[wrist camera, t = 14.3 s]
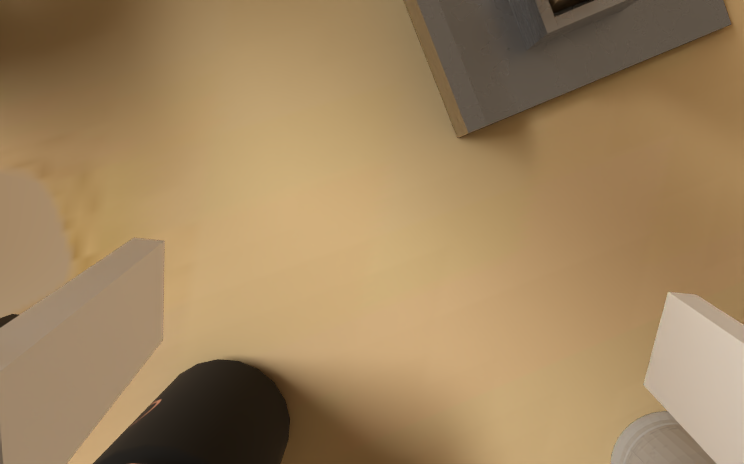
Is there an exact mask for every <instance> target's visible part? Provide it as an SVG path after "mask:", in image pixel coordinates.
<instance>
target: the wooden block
mask: <svg viewBox="0 0 744 464" xmlns="http://www.w3.org/2000/svg"><path fill="white" fill-rule="evenodd" d="M548 1H549V3H550V6H551V9H552V11H553V14H554V13H556V12H559V11H561V10H564V9H566V8H569V7H571V6H574V5H576V4H579V3H581V2H584V1H586V0H548Z"/></svg>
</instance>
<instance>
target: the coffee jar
mask: <svg viewBox="0 0 744 464" xmlns="http://www.w3.org/2000/svg"><path fill="white" fill-rule="evenodd" d="M289 424H290V418H289V414H288V410H287V406H286V402H285V399H284V398H283V396H282V394H281V393H280V391H279V390H278V388H277V387H276V385H275V383H274V382H273V381H272V380H270V379H269V378H268V377H267V376H266V375H264V374H263V373H262V372H261V371H260V370H258V369H256V368H254V367H252V366H249V365H247V364H244V363H242V362H239V361H230V360H218V359H217V360H213V361H209V362H204V363H200V364H197V365H195V366H193V367H191V368H190V369H188V370H186V371H185V372H183V373H181V374H180V375H179V376H178V377H177V378H176V379H175V380H174V381H173V382H172V383H171V384H170V385H169V386H168V387H167V388H166V389H165V390H164V391H163V392H162V393H161V394H160V395H159V396H158V397H157V398H156V399H155V400H154V401H153V403H152V404H151V405H150V406H149V407H148V408H147V409H146V410H145V411H144V412H143V413H142V414H141V415H140V416H139V417H138V418H137V419H136V420H135V421H134V422H133V423H132V424H131V425H130V426H129V427H128V428H127V429H126V430H125V431H124V432H123V433H122V434H121V435H120V436H119V437H118V438H117V439H116V441H115V442H114V443H113V444H112V445H111V446H110V447H109V448H108V449H107V450H106V451H105V452H104V453H103V454H102V455H101V456H100V457H99V458H98V459H97V460H96V461H95V462H94V463H93V464H280V463H281V460H282V457H283V454H284V451H285V448H286V445H287V442H288V437H289Z"/></svg>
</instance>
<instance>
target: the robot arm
mask: <svg viewBox="0 0 744 464" xmlns="http://www.w3.org/2000/svg"><path fill="white" fill-rule="evenodd" d="M163 308H164V241H161V240H151V239H142V238H133V239H131V240H130V241H128V242H127V243H125V244H124V245H122V246H121V247H119V248H118V249H116V250H115V251H113V252H112V253H110V254H109V255H108V256H106V257H105V258H103V259H102V260H100V261H99V262H97V263H96V264H94V265H93V266H91V267H90V268H88V269H87V270H85V271H84V272H82V273H81V274H79V275H78V276H76V277H75V278H73V279H72V280H71V281H69V282H68V283H66V284H65V285H63V286H62V287H60V288H59V289H57V290H56V291H54V292H53V293H51V294H50V295H48V296H47V297H45V298H44V299H42V300H41V301H39V302H38V303H36V304H35V305H33V306H32V307H31V308H29V309H28V310H26V311H25V312H23V313H22V314H20V315H17V314H11V315H8V316H5V317H3V318H0V464H67V463H68V461H69V460H70V459H71V458H72V456H73V455H74V454H75V452H76V451H77V450H78V449H79V447H80V446H81V445H82V443H83V442H84V441H85V440H86V438H87V437H88V436H89V434H90V433H91V432H92V431H93V429H94V428H95V427H96V425H97V424H98V423H99V422H100V420H101V419H102V418H103V416H104V415H105V414H106V413H107V411H108V410H109V409H110V408H111V406H112V405H113V404H114V402H115V401H116V400H117V399H118V397H119V396H120V395H121V393H122V392H123V391H124V390H125V388H126V387H127V386H128V384H129V383H130V382H131V381H132V379H133V378H134V377H135V375H136V374H137V373H138V372H139V370H140V369H141V368H142V366H143V365H144V364H145V363H146V361H147V360H148V359H149V357H150V356H151V355H152V354H153V352H154V351H155V350H156V348H157V347H158V346H159V345H160V343H161V342H162V341H163ZM643 385H644V386H645V387H646V388H647V389H648V390H649V392H650V393H651V394H652V395H653V396H654V397H655V398H656V399H657V400H658V401H659V402H660V403H661V404H662V406H663V407H664V408H665V409H666V410H667V411H668V412H669V413H670V414H671V415H672V416H673V417H674V418H675V420H676V421H677V422H678V423H679V424H680V425H681V426H682V427H683V428H684V429H685V430H686V431H687V432H688V434H689V435H690V436H691V437H692V438H693V439H694V440H695V441H696V442H697V443H698V444H699V445H700V446H701V448H702V449H703V450H704V451H705V452H706V453H707V454H708V455H709V456H710V457H711V458H712V459H713V460H714V462H715V463H716V464H744V325H743V324H742V323H740V322H739V321H737V320H735V319H734V318H732V317H731V316H729V315H728V314H726V313H724V312H723V311H721V310H720V309H718V308H717V307H715V306H713V305H712V304H710V303H709V302H707V301H706V300H704V299H702V298H701V297H699V296H698V295H696V294H686V293H676V292H668V294H667V298H666V301H665V305H664V309H663V313H662V316H661V320H660V324H659V328H658V331H657V335H656V339H655V343H654V346H653V350H652V354H651V358H650V361H649V365H648V369H647V373H646V376H645V380H644V384H643Z"/></svg>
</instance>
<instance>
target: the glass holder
mask: <svg viewBox="0 0 744 464" xmlns="http://www.w3.org/2000/svg"><path fill="white" fill-rule="evenodd" d="M611 464H716V463H715V462H714V460H713V459H712V458H711V457H710V456H709V455H708V454H707V453H706V452H705V451H704V450H703V449H702V448H701V446H700V445H699V444H698V443H697V442H696V441H695V440H694V439H693V438H692V437H691V436H690V435H689V434H688V432H687V431H686V430H685V429H684V428H683V427H682V426H681V425H680V424H679V423H678V422H677V421H676V420H675V418H674V417H673V416H672V415H671V414H670V413H669V412H668V411H662V412H655V413H651V414H648V415H645V416H643V417H641V418H639V419H637V420H635V421H634V422H633V423H631V424H630V425H629V426H628V427H627V428H626V429H625V430H624V431H623V432H622V433H621V435H620V436H619V438H618V439H617V441H616V443H615V445H614V448H613V452H612V457H611Z"/></svg>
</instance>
